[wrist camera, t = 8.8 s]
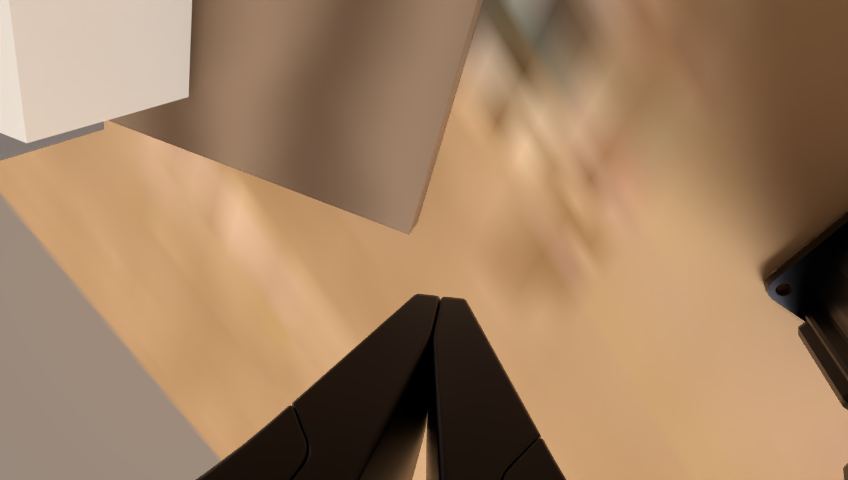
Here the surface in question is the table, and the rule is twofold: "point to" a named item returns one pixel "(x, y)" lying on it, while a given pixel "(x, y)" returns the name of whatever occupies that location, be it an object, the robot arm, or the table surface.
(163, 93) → the plug
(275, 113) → the board
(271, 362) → the table surface
